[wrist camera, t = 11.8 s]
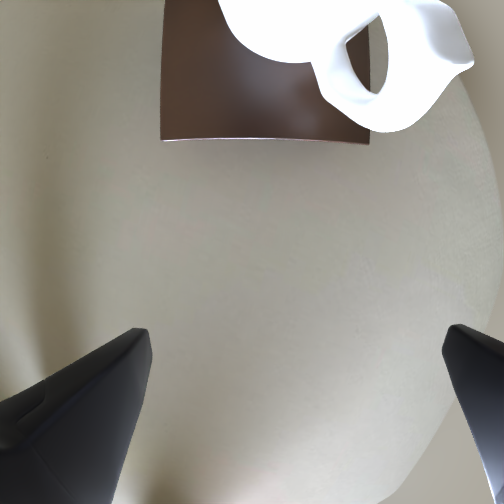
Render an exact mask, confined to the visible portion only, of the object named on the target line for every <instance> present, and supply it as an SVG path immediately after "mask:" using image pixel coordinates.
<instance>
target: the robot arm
mask: <svg viewBox="0 0 504 504" xmlns="http://www.w3.org/2000/svg"><path fill="white" fill-rule="evenodd" d="M442 355H443V358H444V361H445V364H446V366H447V369H448V372H449V375H450V378H451V381H452V385H453V388H454V390H455V393H456V396H457V398H458V400H459V403H460V405H461V408H462V410H463V412H464V415H465V417H466V420H467V422H468V425H469V427H470V430H471V433H472V435H473V438H474V441H475V443H476V446H477V449H478V452H479V454H480V457H481V460H482V463H483V466H484V469H485V472H486V475H487V478H488V481H489V485H490V488H491V491H492V495H493V497H494V502H495V504H504V343H503V342H501V341H499V340H497V339H494V338H492V337H490V336H488V335H485V334H483V333H481V332H479V331H476V330H474V329H472V328H470V327H467V326H465V325H463V324H456V325H451V326H450V327H449V329H448V332H447V335H446V338H445V340H444V343H443V346H442ZM151 363H152V348H151V343H150V337H149V333H148V330H147V329H143V328H132V329H130V330H129V331H127V332H125V333H123V334H122V335H120V336H118V337H117V338H115V339H113V340H111V341H110V342H108V343H106V344H105V345H103V346H101V347H99V348H98V349H96V350H94V351H92V352H91V353H89V354H87V355H85V356H84V357H82V358H80V359H79V360H77V361H75V362H73V363H72V364H70V365H68V366H66V367H65V368H63V369H61V370H59V371H58V372H56V373H54V374H52V375H51V376H49V377H47V378H46V379H45V380H42V381H40V382H39V383H37V384H35V385H33V386H31V387H30V388H28V389H26V390H24V391H22V392H20V393H18V394H16V395H14V396H12V397H10V398H8V399H6V400H4V401H2V402H0V504H112V500H113V497H114V493H115V490H116V486H117V483H118V480H119V476H120V473H121V470H122V467H123V463H124V460H125V457H126V454H127V451H128V448H129V444H130V441H131V438H132V435H133V432H134V429H135V426H136V423H137V420H138V417H139V414H140V411H141V408H142V405H143V401H144V396H145V391H146V386H147V382H148V377H149V372H150V368H151Z"/></svg>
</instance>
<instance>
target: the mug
mask: <svg viewBox="0 0 504 504" xmlns="http://www.w3.org/2000/svg"><path fill="white" fill-rule="evenodd" d="M218 1H219V4H220V7H221V9H222V12H223V14H224V17H225V19H226V22H227V24H228V26H229V28H230V30H231V31H232V33H233V34H234V35H235V37H236V38H237V39H238V40H239V41H240V42H241V43H242V44H243V45H245V46H246V47H247V48H249V49H250V50H252V51H253V52H255V53H257V54H259V55H261V56H263V57H266V58H269V59H272V60H276V61H281V62H289V63H302V62H310V61H311V64H312V66H313V69H314V72H315V75H316V78H317V81H318V85H319V88H320V91H321V93H322V95H323V97H324V98H325V99H326V100H327V101H328V102H330V103H331V104H332V105H334V106H335V107H336V108H338V109H339V110H340V111H342V112H343V113H344V114H346V115H347V116H348V117H349V118H351V119H352V120H354V121H355V122H357V123H358V124H360V125H362V126H364V127H366V128H369V129H371V130H374V131H379V132H392V131H397V130H401V129H404V128H406V127H408V126H410V125H412V124H413V123H415V122H416V121H417V120H418V119H420V118H421V117H422V116H423V115H424V114H425V113H426V112H427V110H428V109H429V108H430V107H431V106H432V105H433V103H434V102H435V101H436V100H437V98H438V97H439V96H440V94H441V93H442V91H443V90H444V89H445V87H446V86H447V85H448V83H449V82H450V81H451V79H452V78H453V77H454V76H455V75H456V74H458V73H460V72H461V71H464V70H466V69H468V68H469V67H471V66H472V65H473V64H474V56H473V53H472V50H471V48H470V46H469V44H468V42H467V40H466V37H465V35H464V32H463V30H462V27H461V25H460V22H459V20H458V18H457V16H456V13H455V12H454V10H453V9H452V8H450V7H449V6H448V5H447V4H444V3H443V2H441V1H439V0H218ZM378 15H380V16H381V19H382V21H383V25H384V28H385V32H386V35H387V39H388V51H389V64H388V73H387V77H386V81H385V83H384V86H383V87H382V89H381V91H380V92H379V93H378V94H374V93H371V92H369V91H368V90H367V89H366V88H365V87H364V86H363V85H362V83H361V82H360V81H359V79H358V78H357V76H356V74H355V72H354V70H353V68H352V66H351V63H350V60H349V57H348V54H347V50H346V42H347V41H349V40H350V39H351V38H352V37H354V36H355V35H356V34H357V33H358V32H360V31H361V30H362V29H363V28H364V27H365V26H367V25H368V24H369V23H370V22H371V21H372V20H374V19H375V18H376V17H377V16H378Z"/></svg>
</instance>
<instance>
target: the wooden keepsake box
mask: <svg viewBox="0 0 504 504" xmlns="http://www.w3.org/2000/svg"><path fill="white" fill-rule="evenodd" d="M346 50H347V54H348V57H349V60H350V63H351V66H352V68H353V70H354V72H355V74H356V76H357V78H358V79H359V81H360V82H361V83H362V85H363V86H364V87H365V88H366V89H367V90H368V91H369V92H370V54H369V33H368V25H367V26H365V27H364V28H363V29H362V30H361V31H360V32H358V33H357V34H356V35H355V36H354V37H352V38H351V39H350V40H349V41H347V42H346ZM211 139H273V140H301V141H320V142H335V143H348V144H360V145H369V140H370V129H369V128H366V127H364V126H362V125H360V124H358V123H357V122H355V121H354V120H352V119H351V118H349V117H348V116H347V115H346V114H344V113H343V112H342V111H340V110H339V109H338V108H336V107H335V106H334V105H332V104H331V103H330V102H328V101H327V100H326V99H325V98H324V97H323V95H322V93H321V91H320V88H319V85H318V81H317V78H316V75H315V72H314V69H313V66H312V64H311V61H310V62H302V63H289V62H281V61H276V60H272V59H269V58H266V57H263V56H261V55H259V54H257V53H255V52H253V51H252V50H250V49H249V48H247V47H246V46H245V45H243V44H242V43H241V42H240V41H239V40H238V39H237V38H236V37H235V35H234V34H233V33H232V31H231V30H230V28H229V26H228V24H227V22H226V19H225V17H224V14H223V12H222V9H221V7H220V4H219V1H218V0H165V8H164V21H163V37H162V57H161V91H160V140H161V141H162V142H163V141H183V140H211Z"/></svg>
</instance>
